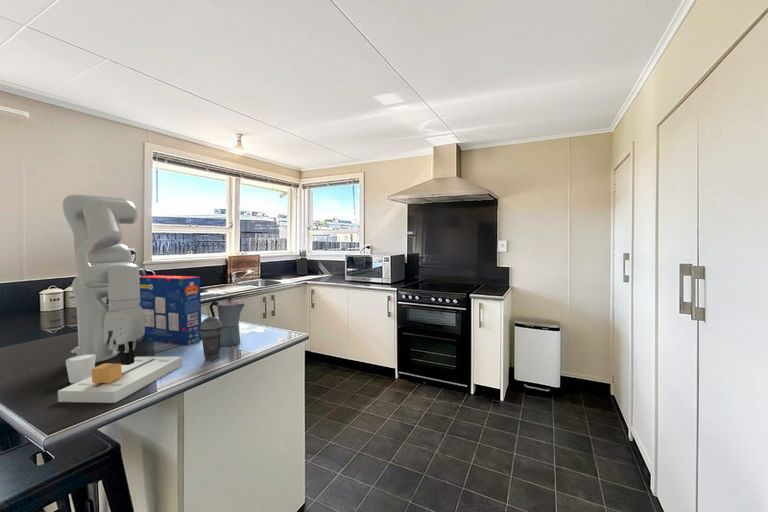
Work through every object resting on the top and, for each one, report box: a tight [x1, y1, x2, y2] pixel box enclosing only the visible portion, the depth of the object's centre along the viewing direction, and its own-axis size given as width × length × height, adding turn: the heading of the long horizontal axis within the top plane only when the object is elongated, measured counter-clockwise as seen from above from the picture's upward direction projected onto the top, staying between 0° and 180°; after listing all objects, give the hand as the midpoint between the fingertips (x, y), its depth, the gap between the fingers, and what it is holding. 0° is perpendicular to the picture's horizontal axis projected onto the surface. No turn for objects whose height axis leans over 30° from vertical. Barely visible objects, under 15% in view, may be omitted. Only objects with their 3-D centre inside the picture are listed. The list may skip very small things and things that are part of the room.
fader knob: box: [92, 362, 122, 383], centre depth 91 cm, size 5×4×4 cm
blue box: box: [139, 274, 202, 347], centre depth 140 cm, size 28×8×28 cm, turn 71°
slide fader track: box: [57, 356, 183, 404], centre depth 98 cm, size 16×26×3 cm, turn 177°
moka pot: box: [209, 296, 246, 347], centre depth 134 cm, size 10×15×20 cm, turn 89°
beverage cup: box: [200, 304, 222, 362], centre depth 116 cm, size 7×7×20 cm
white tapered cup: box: [65, 354, 96, 384], centre depth 100 cm, size 7×7×7 cm
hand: (127, 363), depth 98 cm, fingers closed
